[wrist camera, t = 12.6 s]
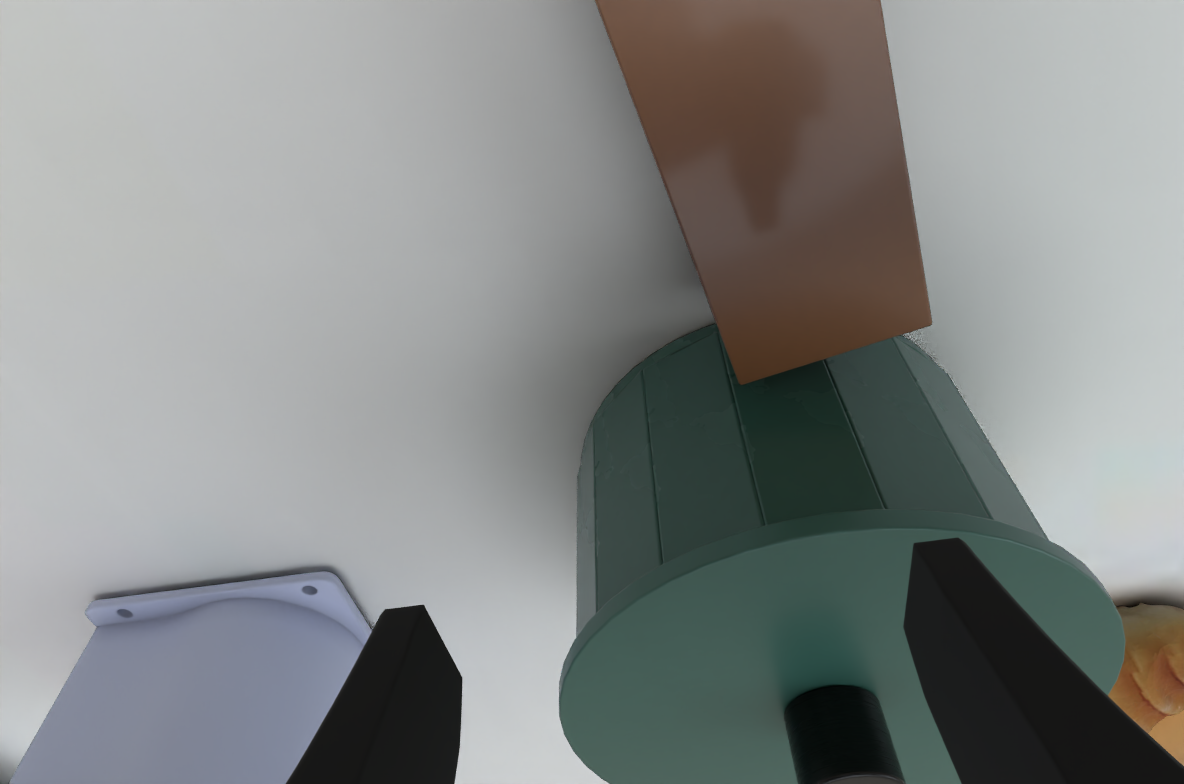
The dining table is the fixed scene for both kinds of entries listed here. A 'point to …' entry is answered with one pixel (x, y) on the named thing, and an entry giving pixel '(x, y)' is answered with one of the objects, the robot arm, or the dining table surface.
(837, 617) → the pot lid
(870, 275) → the brown rectangular block
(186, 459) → the dining table surface
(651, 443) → the pot
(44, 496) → the dining table surface
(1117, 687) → the pastry
